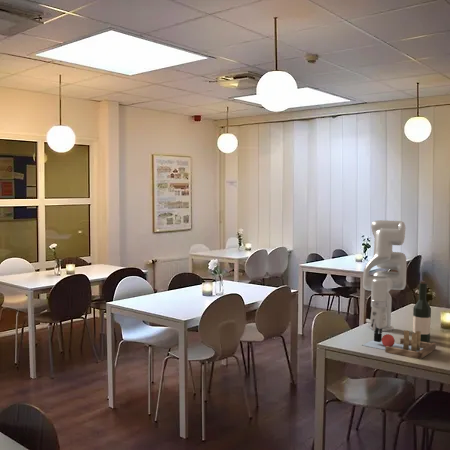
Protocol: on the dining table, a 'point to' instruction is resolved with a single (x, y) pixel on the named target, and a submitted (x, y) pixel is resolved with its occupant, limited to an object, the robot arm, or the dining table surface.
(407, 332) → the front pin
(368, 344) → the lane strip
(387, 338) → the ball
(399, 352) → the wooden tray
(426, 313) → the wine bottle
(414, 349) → the pin
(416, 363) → the dining table surface
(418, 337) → the pin
